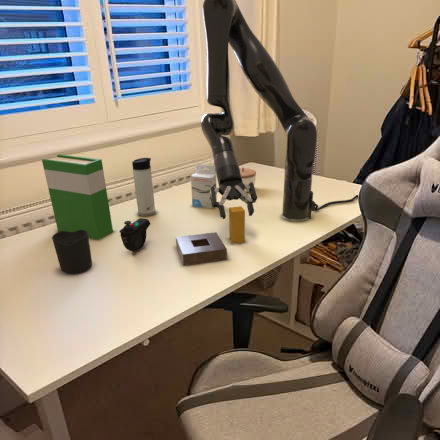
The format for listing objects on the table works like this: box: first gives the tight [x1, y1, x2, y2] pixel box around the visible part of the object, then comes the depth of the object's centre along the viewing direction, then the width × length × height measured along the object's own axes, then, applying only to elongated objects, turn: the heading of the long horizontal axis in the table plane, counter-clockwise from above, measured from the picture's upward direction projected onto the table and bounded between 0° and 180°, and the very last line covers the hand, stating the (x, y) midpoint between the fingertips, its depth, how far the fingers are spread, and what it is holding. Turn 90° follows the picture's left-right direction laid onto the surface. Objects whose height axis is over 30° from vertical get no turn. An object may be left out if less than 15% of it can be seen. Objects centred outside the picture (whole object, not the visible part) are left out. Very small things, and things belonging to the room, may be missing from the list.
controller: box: [119, 217, 152, 252], centre depth 134 cm, size 4×12×10 cm, turn 157°
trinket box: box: [239, 167, 257, 193], centre depth 181 cm, size 11×11×9 cm
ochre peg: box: [228, 205, 246, 245], centre depth 137 cm, size 4×4×10 cm
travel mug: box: [131, 157, 156, 217], centre depth 158 cm, size 6×7×20 cm
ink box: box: [190, 163, 218, 209], centre depth 165 cm, size 9×5×15 cm, turn 71°
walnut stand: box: [175, 231, 228, 266], centre depth 132 cm, size 13×13×4 cm
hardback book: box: [41, 154, 114, 241], centre depth 143 cm, size 18×7×24 cm, turn 63°
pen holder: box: [51, 230, 93, 275], centre depth 124 cm, size 9×9×10 cm
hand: (237, 216), depth 136 cm, fingers open, 8 cm apart
